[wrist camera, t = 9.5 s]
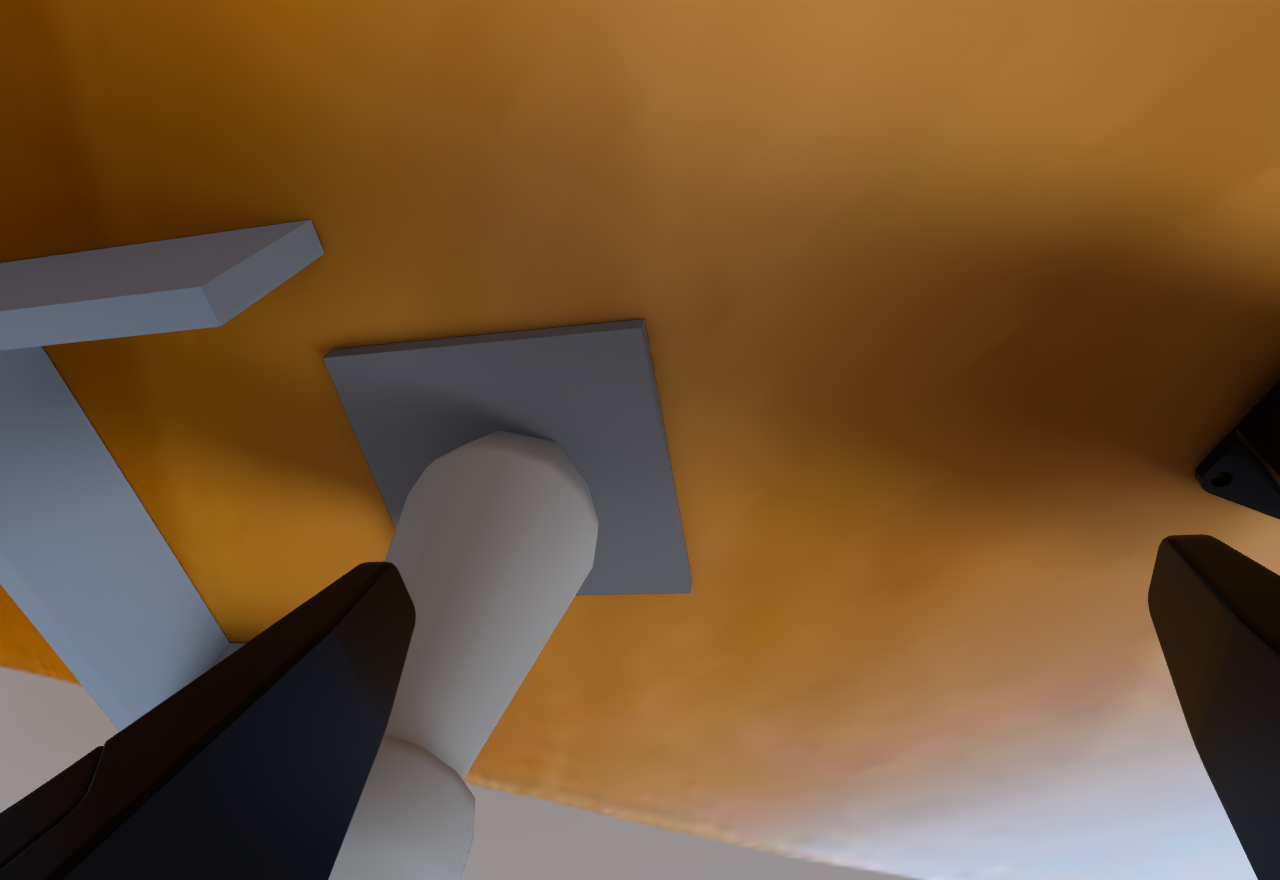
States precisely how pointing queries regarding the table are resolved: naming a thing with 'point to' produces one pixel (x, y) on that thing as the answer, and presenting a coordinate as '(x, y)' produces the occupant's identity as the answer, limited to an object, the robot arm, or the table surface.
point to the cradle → (86, 472)
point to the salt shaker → (466, 640)
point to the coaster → (532, 428)
